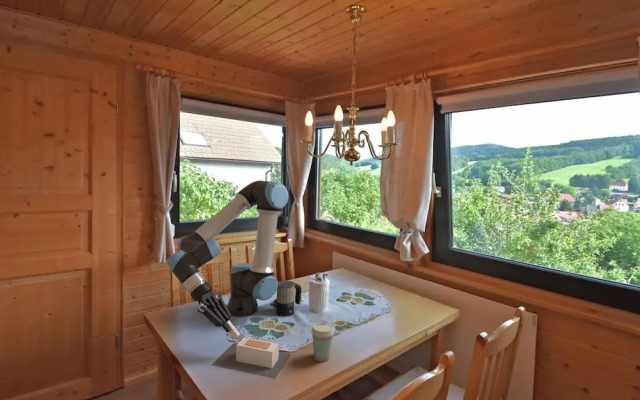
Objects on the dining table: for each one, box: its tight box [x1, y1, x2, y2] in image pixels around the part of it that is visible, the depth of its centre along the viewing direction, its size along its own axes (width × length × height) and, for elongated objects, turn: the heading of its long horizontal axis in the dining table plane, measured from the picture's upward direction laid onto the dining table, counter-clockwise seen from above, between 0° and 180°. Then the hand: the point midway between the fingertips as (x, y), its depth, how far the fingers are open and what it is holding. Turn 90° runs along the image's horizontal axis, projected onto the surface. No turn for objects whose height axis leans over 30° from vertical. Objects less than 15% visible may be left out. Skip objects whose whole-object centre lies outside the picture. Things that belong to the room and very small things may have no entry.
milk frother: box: [272, 280, 302, 317], centre depth 170 cm, size 14×16×15 cm
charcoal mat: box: [211, 342, 291, 380], centre depth 124 cm, size 24×16×1 cm, turn 75°
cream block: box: [236, 337, 280, 368], centre depth 124 cm, size 6×6×14 cm
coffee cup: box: [311, 322, 335, 362], centre depth 128 cm, size 8×9×12 cm
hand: (236, 336), depth 125 cm, fingers closed
